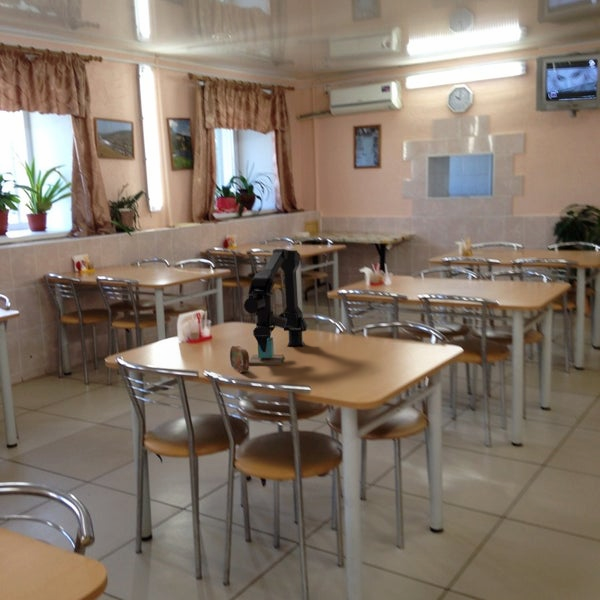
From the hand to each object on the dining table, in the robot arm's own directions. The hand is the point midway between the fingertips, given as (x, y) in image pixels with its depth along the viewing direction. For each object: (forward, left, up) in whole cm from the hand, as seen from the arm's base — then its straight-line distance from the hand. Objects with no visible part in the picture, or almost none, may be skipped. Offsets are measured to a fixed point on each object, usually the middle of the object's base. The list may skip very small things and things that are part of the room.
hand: (265, 349), depth 265 cm
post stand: (0, 0, -5) cm, 5 cm away
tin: (+12, -8, -5) cm, 15 cm away
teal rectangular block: (0, 0, -3) cm, 3 cm away
